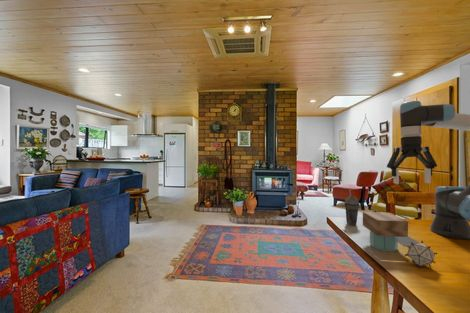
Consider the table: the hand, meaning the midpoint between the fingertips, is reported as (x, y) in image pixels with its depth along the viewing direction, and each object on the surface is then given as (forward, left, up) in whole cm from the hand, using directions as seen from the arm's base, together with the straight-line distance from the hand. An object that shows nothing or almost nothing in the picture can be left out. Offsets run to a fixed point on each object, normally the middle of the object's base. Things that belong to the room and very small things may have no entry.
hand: (411, 183), depth 105 cm
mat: (+4, +3, -25) cm, 26 cm away
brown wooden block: (+17, +12, -18) cm, 28 cm away
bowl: (+17, +12, -25) cm, 33 cm away
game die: (+13, +26, -26) cm, 39 cm away
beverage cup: (+19, -18, -26) cm, 37 cm away
